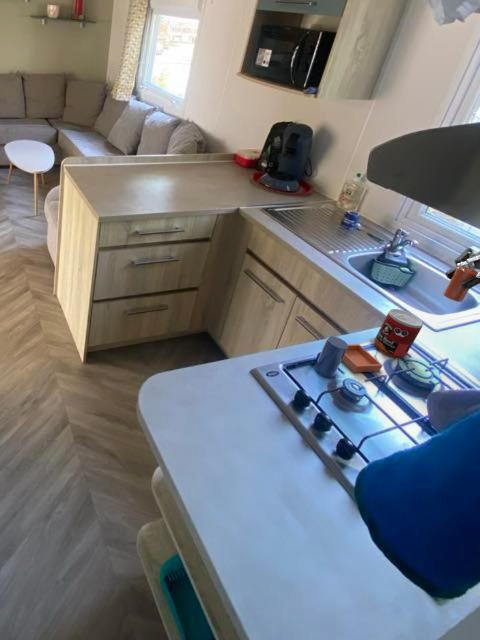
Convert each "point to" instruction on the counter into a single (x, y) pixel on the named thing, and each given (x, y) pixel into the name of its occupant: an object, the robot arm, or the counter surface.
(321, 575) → the counter surface
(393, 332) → the canned food
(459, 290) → the cylinder
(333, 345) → the cylinder
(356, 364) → the terracotta tray
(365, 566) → the counter surface
